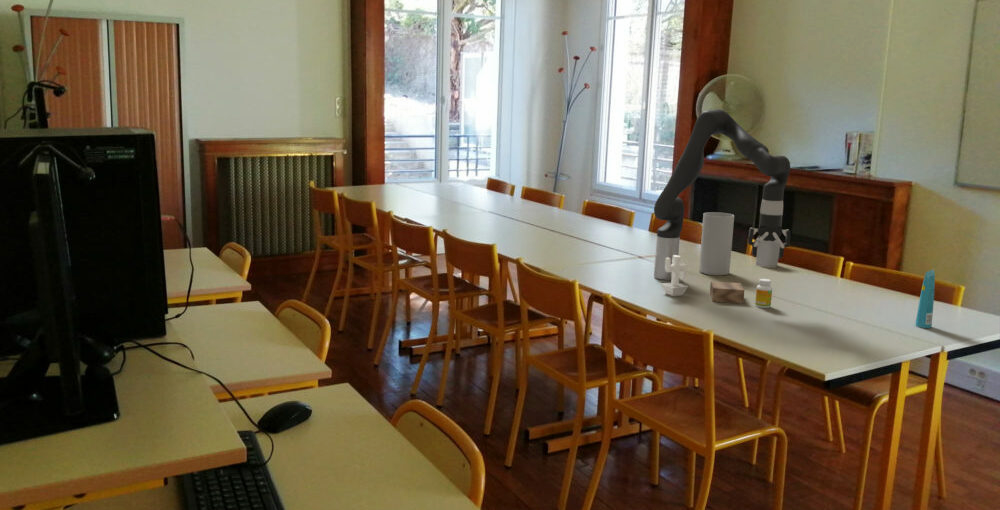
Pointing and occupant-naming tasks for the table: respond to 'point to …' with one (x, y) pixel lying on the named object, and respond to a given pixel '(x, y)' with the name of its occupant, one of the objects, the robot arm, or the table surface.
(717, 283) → the walnut block
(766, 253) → the cup
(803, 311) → the table surface
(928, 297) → the tube
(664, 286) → the figurine
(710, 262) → the cylinder vase
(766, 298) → the supplement bottle
